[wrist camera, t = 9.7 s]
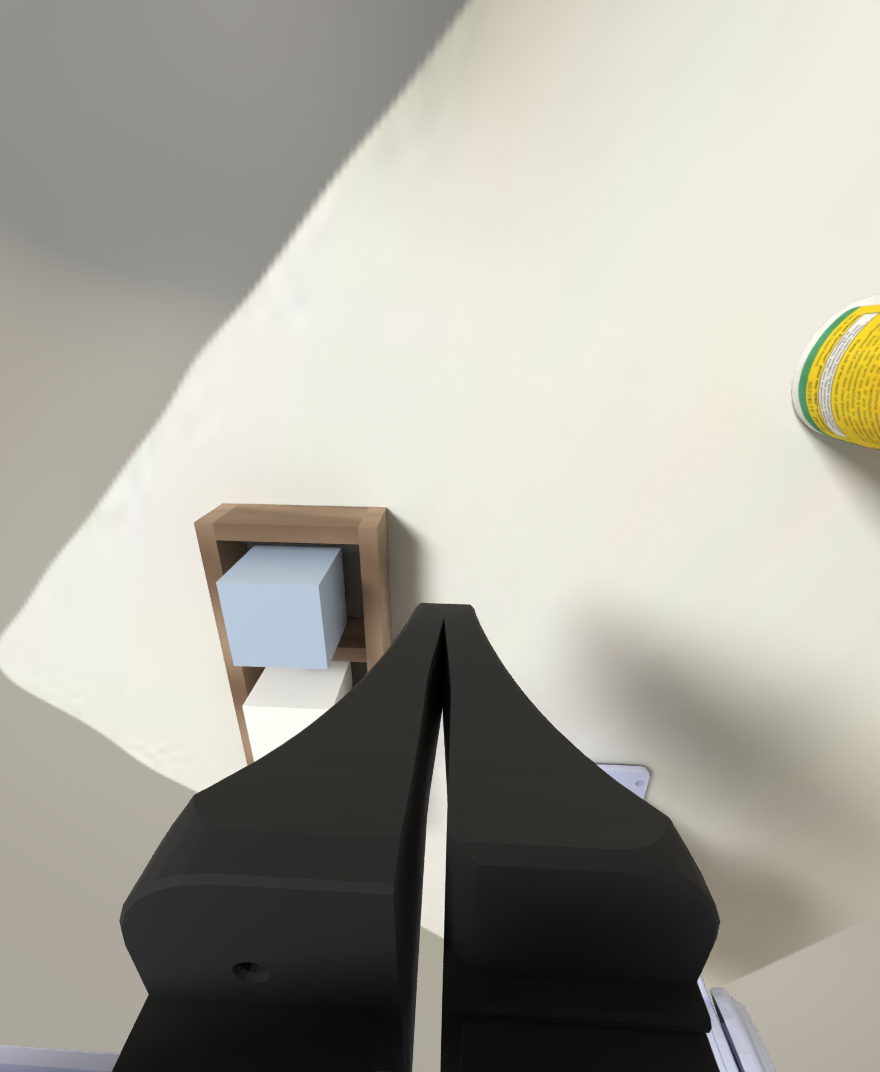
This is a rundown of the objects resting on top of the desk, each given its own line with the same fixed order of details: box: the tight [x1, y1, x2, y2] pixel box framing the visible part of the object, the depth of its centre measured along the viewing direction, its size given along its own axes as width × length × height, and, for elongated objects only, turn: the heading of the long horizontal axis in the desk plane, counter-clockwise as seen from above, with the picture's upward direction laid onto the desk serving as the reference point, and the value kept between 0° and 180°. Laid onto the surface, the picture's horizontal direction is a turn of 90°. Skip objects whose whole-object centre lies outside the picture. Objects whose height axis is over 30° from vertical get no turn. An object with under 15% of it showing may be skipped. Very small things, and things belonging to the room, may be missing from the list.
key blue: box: [216, 545, 347, 669], centre depth 19 cm, size 4×4×4 cm
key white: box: [242, 661, 353, 762], centre depth 22 cm, size 4×4×4 cm
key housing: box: [194, 504, 391, 765], centre depth 24 cm, size 19×8×2 cm, turn 179°
